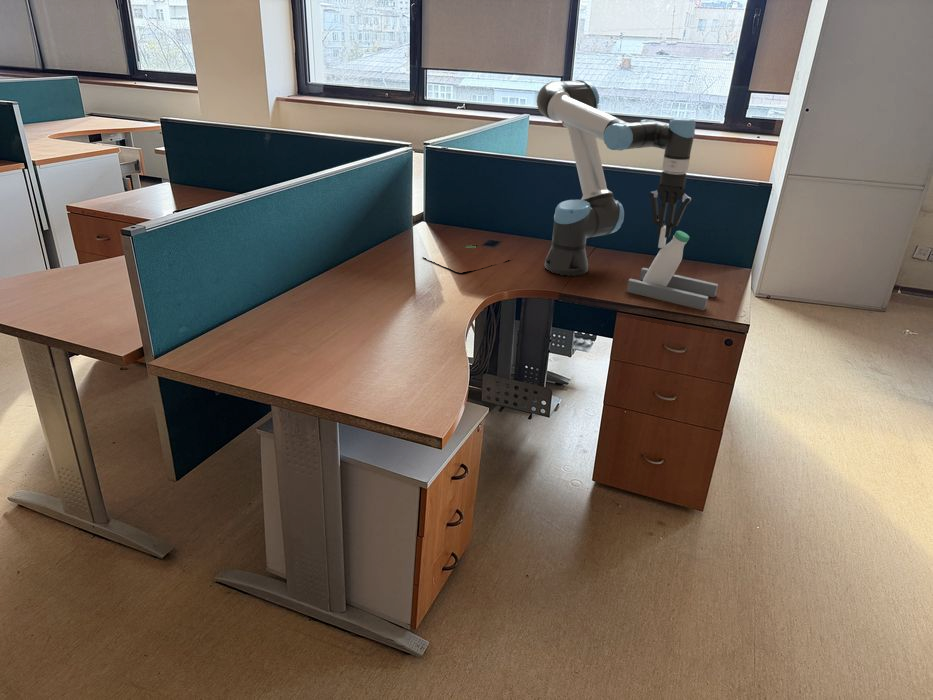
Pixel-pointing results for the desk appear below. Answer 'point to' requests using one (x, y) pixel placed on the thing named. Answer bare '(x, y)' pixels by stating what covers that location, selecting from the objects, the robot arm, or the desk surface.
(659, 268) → the milk bottle
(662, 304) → the desk surface
